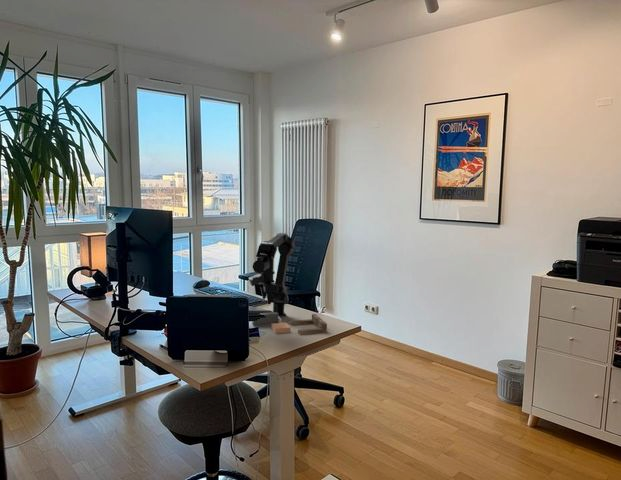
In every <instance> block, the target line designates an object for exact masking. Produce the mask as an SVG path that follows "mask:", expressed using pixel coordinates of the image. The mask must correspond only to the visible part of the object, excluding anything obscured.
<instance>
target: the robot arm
mask: <svg viewBox="0 0 621 480" xmlns="http://www.w3.org/2000/svg"><path fill="white" fill-rule="evenodd" d="M295 248H296V242H295V240H294V239H293V238H292V237H291V236H289V235H288V234H287V233H285V232H279V233H276V235H275V236H273V237H272V238H271V239H269V240H264V241H262V242H260V244H259V245H258V248H257V253H256V255H255V257H256V260H255V261H254V262H253V264H252V270H253V271H254V272H255V273H258V274H254V275H252V276H250V277H248V282H249V284H250V285H251V286H252V287H255V286H256V285H257V286H258V287H259V288H260V293H261V297H262V300H265V299H267V304H268V305H271V304H272V311H270V313H272V312H277V313H278V316H279V317H284V316H285V317H286V316H287V313H285V305H287V304H289V299H290V298H289V296H288V293H287V288H286V286H285V283H286V275H287V270H288V265H289V258H290V256H292V254H293V253H294V249H295ZM277 251H278V253H279V258H278V259H279V260H278V263H277V271H276V275H275V271H274V267H275V266H274V265H275V264H274V261H275V256H276V253H277ZM274 275H275V280H274Z"/></svg>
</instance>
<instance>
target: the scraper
mask: <svg viewBox="0 0 621 480" xmlns="http://www.w3.org/2000/svg"><path fill="white" fill-rule="evenodd" d="M271 312H272V313H271ZM271 312H260V314H261V315H264V316H266V317H265V318H260V319H258V320H257V321H252V320H251V325H252V326H266V325H268V326H269V325H272V324H274V323H282V318H281V316H278V313H277V312H273V311H271Z"/></svg>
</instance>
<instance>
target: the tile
mask: <svg viewBox="0 0 621 480" xmlns="http://www.w3.org/2000/svg"><path fill="white" fill-rule="evenodd" d="M291 329H292V328H291V325H290V324H288V323H287V322H281V323H274V324H271V330H272V331H273V332H274V334H282V333H283V334H284V333H291Z"/></svg>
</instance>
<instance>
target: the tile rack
mask: <svg viewBox="0 0 621 480" xmlns="http://www.w3.org/2000/svg"><path fill="white" fill-rule="evenodd" d="M309 324H310V325H311V324H312V325H314V326H315V327H316V328H303V329H302V328H301V329H298V330H297V334H299V335H309V334H311V335H312V334H320V333H322V334H323V333H327V330H328V324H327V322H326V321H325V320H324V319H323V318H321V317H320V316H319V315H318V314H316V313H312V314H311V318H310V319H309V318H308V319H296V320H295V319H294V320H289V325H290V326H296V325H297V326H298V325H309Z"/></svg>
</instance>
